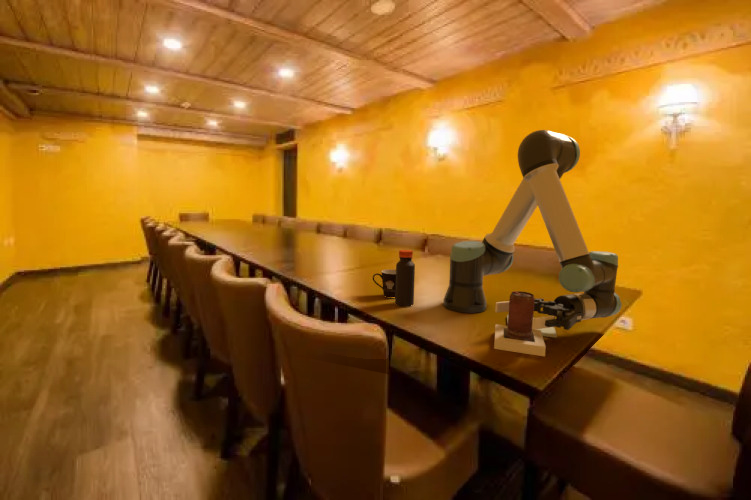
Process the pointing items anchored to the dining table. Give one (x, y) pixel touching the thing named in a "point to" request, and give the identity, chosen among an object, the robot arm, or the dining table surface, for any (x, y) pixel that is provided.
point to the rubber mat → (545, 331)
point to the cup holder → (519, 342)
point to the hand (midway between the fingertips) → (513, 315)
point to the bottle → (405, 279)
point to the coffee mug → (388, 282)
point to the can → (520, 316)
